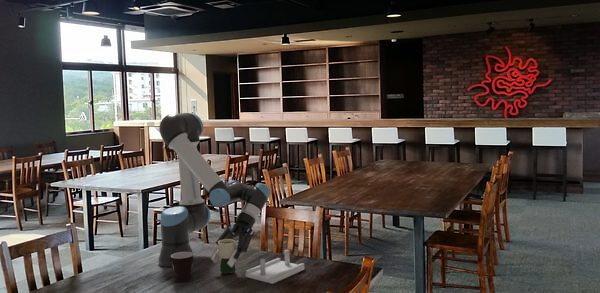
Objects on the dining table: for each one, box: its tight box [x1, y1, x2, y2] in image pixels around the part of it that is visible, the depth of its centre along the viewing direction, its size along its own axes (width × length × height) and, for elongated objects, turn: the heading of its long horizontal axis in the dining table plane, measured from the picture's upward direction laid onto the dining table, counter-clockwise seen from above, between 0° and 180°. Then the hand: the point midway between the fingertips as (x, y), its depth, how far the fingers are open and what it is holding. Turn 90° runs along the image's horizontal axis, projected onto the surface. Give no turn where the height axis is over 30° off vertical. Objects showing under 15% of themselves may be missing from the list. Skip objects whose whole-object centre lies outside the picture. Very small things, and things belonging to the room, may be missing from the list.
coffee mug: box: [171, 252, 194, 284], centre depth 210 cm, size 12×9×10 cm
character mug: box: [213, 238, 238, 275], centre depth 215 cm, size 11×7×13 cm, turn 90°
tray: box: [245, 249, 305, 284], centre depth 214 cm, size 14×20×8 cm
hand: (221, 263), depth 212 cm, fingers closed on character mug, 8 cm apart
